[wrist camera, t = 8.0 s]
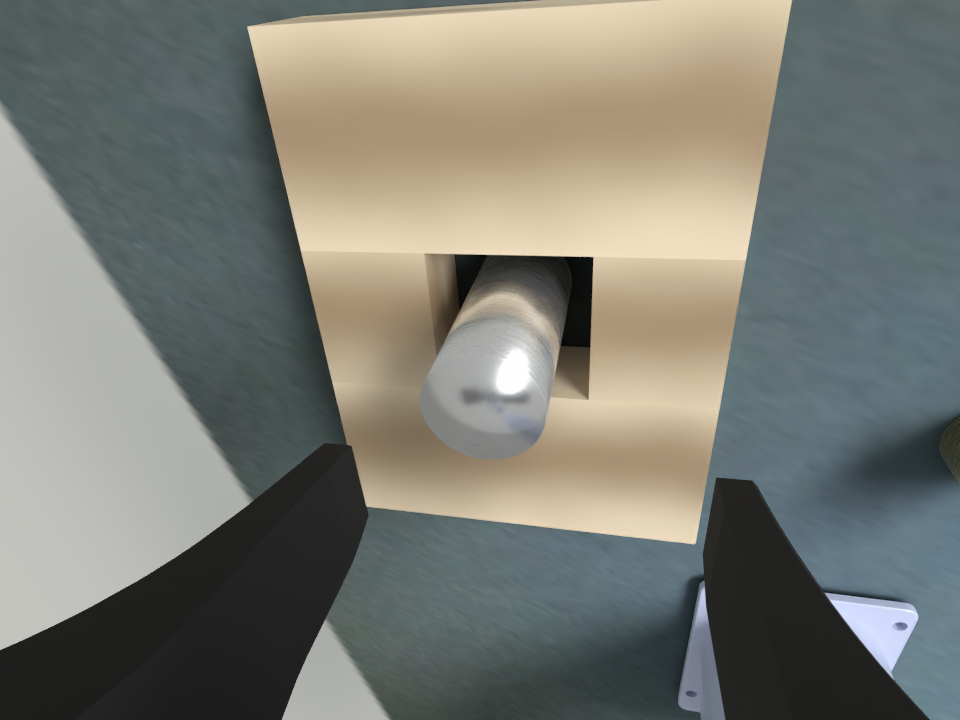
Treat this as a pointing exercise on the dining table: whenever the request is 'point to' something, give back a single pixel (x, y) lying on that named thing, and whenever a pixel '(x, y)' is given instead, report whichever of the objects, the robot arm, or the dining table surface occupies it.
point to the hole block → (530, 230)
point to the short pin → (951, 447)
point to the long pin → (500, 358)
